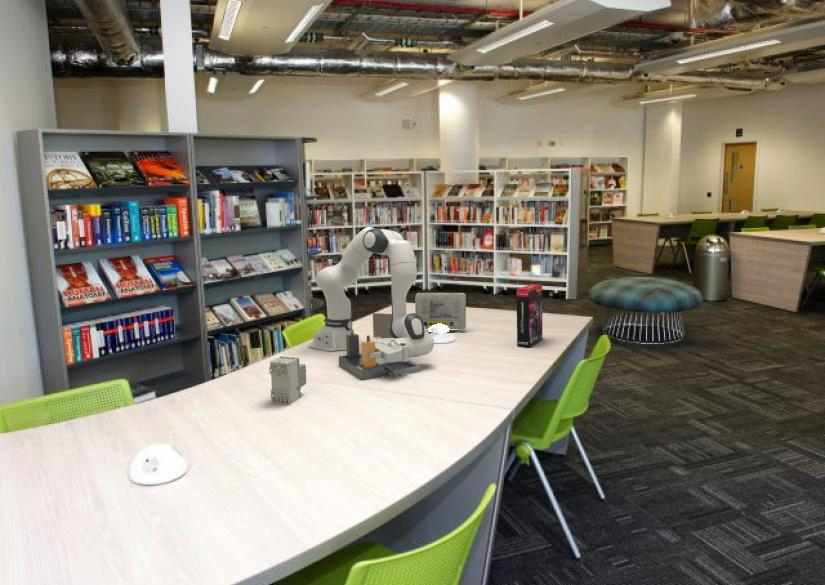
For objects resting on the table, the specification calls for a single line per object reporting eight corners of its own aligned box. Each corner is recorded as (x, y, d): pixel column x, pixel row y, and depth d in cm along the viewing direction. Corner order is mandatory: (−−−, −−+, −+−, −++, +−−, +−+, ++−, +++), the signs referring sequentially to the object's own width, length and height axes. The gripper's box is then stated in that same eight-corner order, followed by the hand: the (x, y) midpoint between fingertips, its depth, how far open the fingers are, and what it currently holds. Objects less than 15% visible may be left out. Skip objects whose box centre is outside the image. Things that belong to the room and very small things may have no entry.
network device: (466, 330, 335) (465, 292, 331) (465, 334, 326) (465, 295, 323) (416, 330, 337) (416, 292, 334) (415, 334, 329) (414, 295, 325)
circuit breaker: (309, 392, 242) (307, 353, 239) (289, 404, 229) (287, 363, 226) (291, 390, 244) (289, 351, 242) (271, 402, 231) (268, 362, 228)
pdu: (338, 365, 275) (338, 356, 275) (360, 362, 280) (360, 352, 279) (362, 380, 255) (361, 370, 254) (384, 376, 259) (384, 366, 259)
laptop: (415, 334, 328) (414, 309, 326) (407, 340, 317) (407, 314, 314) (382, 332, 334) (381, 308, 331) (373, 338, 322) (372, 313, 320)
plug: (362, 370, 260) (361, 335, 258) (372, 368, 262) (371, 334, 260) (366, 372, 258) (364, 337, 255) (376, 370, 260) (374, 335, 257)
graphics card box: (529, 348, 297) (530, 290, 292) (515, 346, 301) (515, 289, 296) (542, 340, 311) (543, 284, 307) (529, 338, 315) (530, 283, 310)
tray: (380, 368, 269) (380, 363, 269) (406, 364, 275) (406, 359, 275) (393, 376, 259) (393, 371, 259) (419, 371, 265) (419, 366, 264)
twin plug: (347, 362, 274) (345, 329, 272) (356, 360, 276) (355, 328, 274) (350, 364, 272) (348, 330, 269) (359, 362, 274) (358, 329, 271)
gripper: (386, 336, 273) (356, 340, 267) (409, 347, 256) (377, 352, 249) (386, 350, 274) (356, 355, 268) (409, 362, 257) (377, 367, 250)
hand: (366, 354), depth 258 cm, fingers closed on plug, 3 cm apart
